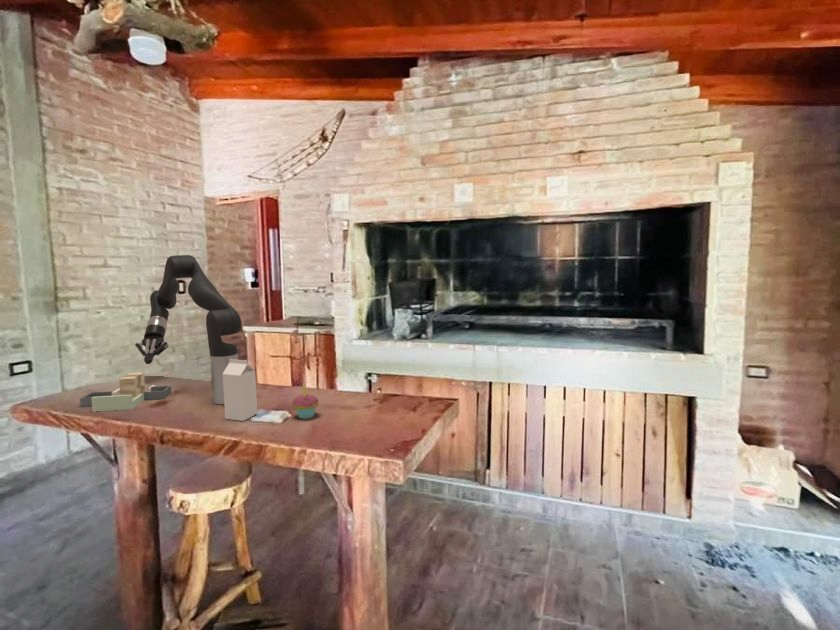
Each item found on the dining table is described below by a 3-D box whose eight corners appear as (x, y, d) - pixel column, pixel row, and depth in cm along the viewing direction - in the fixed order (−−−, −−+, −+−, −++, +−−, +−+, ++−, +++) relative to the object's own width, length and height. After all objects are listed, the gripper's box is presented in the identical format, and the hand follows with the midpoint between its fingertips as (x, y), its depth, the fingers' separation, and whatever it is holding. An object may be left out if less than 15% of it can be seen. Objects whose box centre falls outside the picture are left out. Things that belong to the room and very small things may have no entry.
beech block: (131, 393, 193) (130, 372, 192) (145, 392, 194) (144, 372, 193) (120, 400, 183) (119, 379, 182) (135, 399, 184) (133, 378, 183)
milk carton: (243, 421, 158) (239, 362, 156) (225, 419, 161) (221, 361, 158) (257, 414, 165) (254, 358, 162) (240, 412, 167) (236, 357, 165)
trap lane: (101, 394, 192) (100, 381, 191) (174, 390, 196) (174, 378, 195) (70, 413, 169) (68, 398, 168) (153, 408, 173) (152, 394, 172)
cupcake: (318, 419, 159) (317, 383, 157) (291, 421, 158) (289, 384, 156) (319, 411, 167) (318, 376, 166) (293, 413, 166) (291, 377, 164)
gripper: (136, 324, 209) (126, 358, 199) (170, 323, 211) (162, 357, 201) (142, 334, 215) (133, 368, 205) (175, 333, 217) (167, 367, 207)
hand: (147, 362), depth 203 cm, fingers closed
